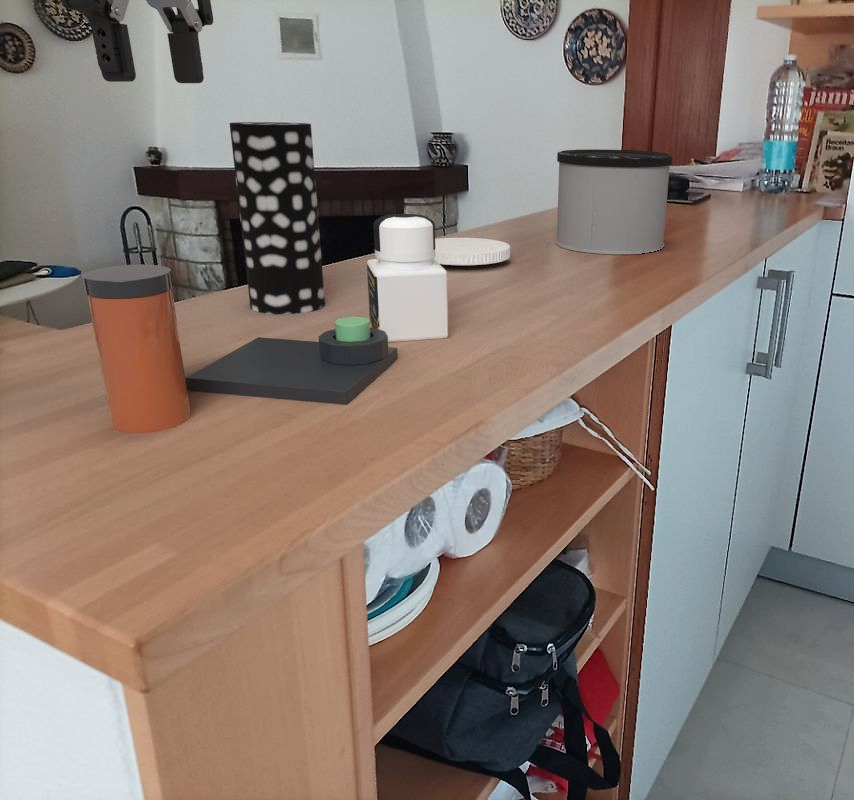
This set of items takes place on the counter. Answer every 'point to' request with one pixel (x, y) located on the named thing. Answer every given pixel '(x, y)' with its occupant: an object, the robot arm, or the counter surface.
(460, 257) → the plastic lid
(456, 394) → the counter surface
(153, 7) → the robot arm
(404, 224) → the medicine bottle
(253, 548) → the counter surface
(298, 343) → the scale
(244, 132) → the spotted tube
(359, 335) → the button
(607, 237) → the container
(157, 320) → the spice jar
